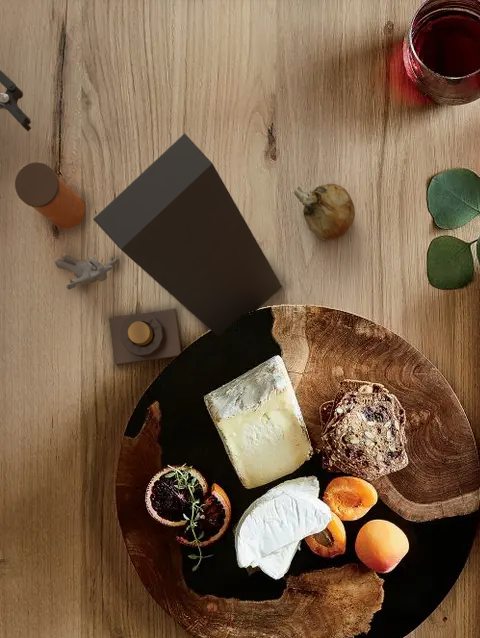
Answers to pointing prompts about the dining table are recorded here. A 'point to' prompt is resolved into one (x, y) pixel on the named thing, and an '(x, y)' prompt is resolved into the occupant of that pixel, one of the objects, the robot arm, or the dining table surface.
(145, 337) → the button
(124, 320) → the control block
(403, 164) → the dining table surface
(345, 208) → the onion
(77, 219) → the orange lidded canister
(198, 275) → the dark brown rectangular box
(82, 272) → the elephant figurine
